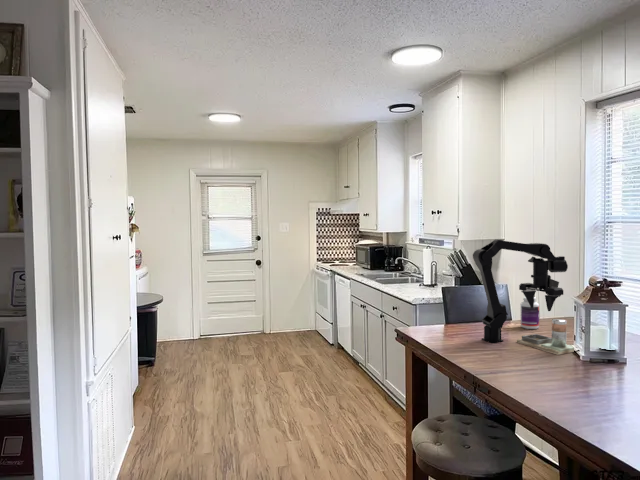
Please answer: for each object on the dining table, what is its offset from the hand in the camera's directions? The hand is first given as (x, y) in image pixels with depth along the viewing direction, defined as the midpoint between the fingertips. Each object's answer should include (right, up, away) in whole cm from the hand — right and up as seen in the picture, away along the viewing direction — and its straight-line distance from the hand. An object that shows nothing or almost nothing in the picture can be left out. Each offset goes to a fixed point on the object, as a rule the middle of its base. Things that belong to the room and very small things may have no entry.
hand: (540, 309), depth 198 cm
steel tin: (0, -12, -15) cm, 20 cm away
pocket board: (-2, -14, -10) cm, 17 cm away
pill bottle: (+5, -12, +21) cm, 25 cm away
